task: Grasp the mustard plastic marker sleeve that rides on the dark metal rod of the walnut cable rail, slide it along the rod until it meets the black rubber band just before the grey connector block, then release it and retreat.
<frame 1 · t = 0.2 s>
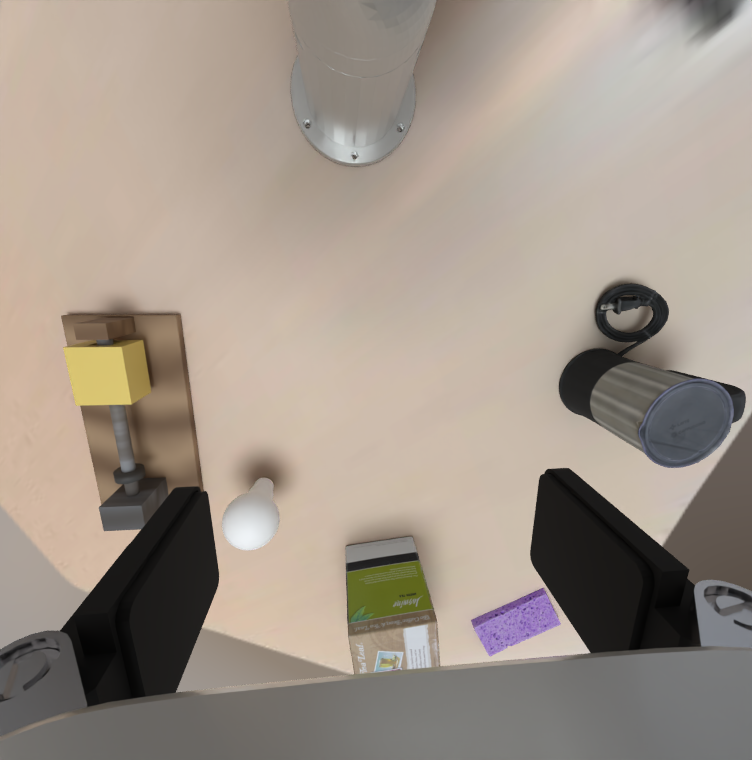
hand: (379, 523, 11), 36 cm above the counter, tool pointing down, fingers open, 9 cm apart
tea box: (383, 579, 56), on the counter
milk frother: (600, 352, 49), on the counter
sponges: (512, 615, 61), on the counter
cable rail: (142, 414, 46), on the counter
lightbulb: (265, 482, 50), on the counter
marker sleeve: (110, 371, 40), point 5 cm above the counter, slide at -6.5 cm
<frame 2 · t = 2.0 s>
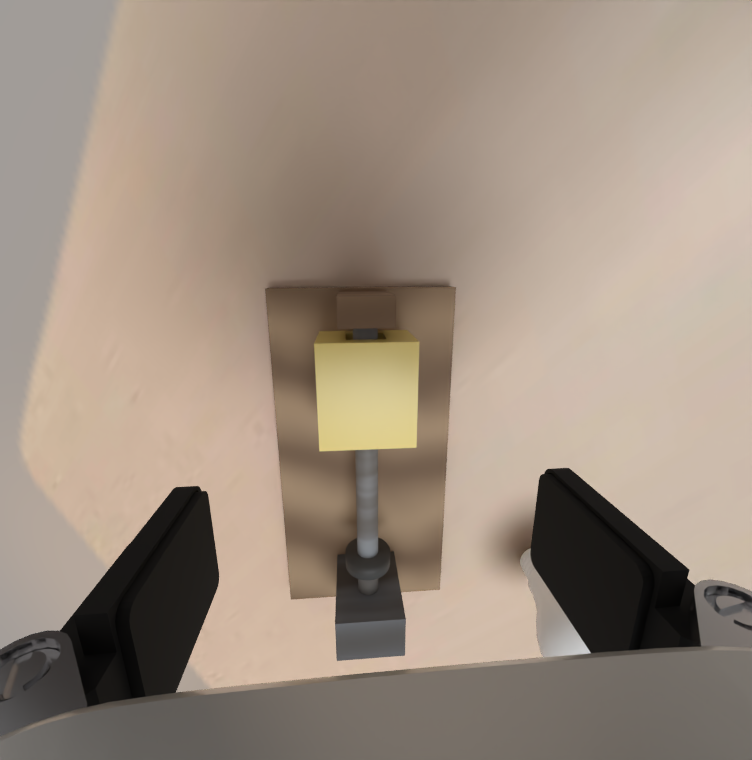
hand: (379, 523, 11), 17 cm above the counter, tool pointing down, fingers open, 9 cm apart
cable rail: (363, 452, 28), on the counter
lightbulb: (529, 551, 32), on the counter
marker sleeve: (365, 386, 22), point 4 cm above the counter, slide at -6.5 cm
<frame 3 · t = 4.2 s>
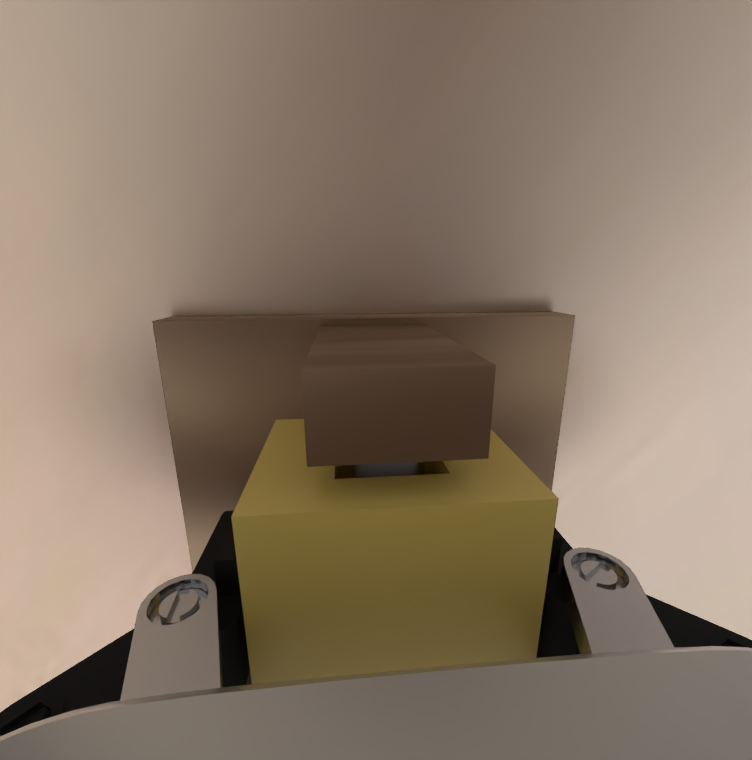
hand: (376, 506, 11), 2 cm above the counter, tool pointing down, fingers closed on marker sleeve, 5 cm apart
cable rail: (373, 618, 15), on the counter
marker sleeve: (386, 565, 9), point 5 cm above the counter, slide at -6.5 cm, touching gripper
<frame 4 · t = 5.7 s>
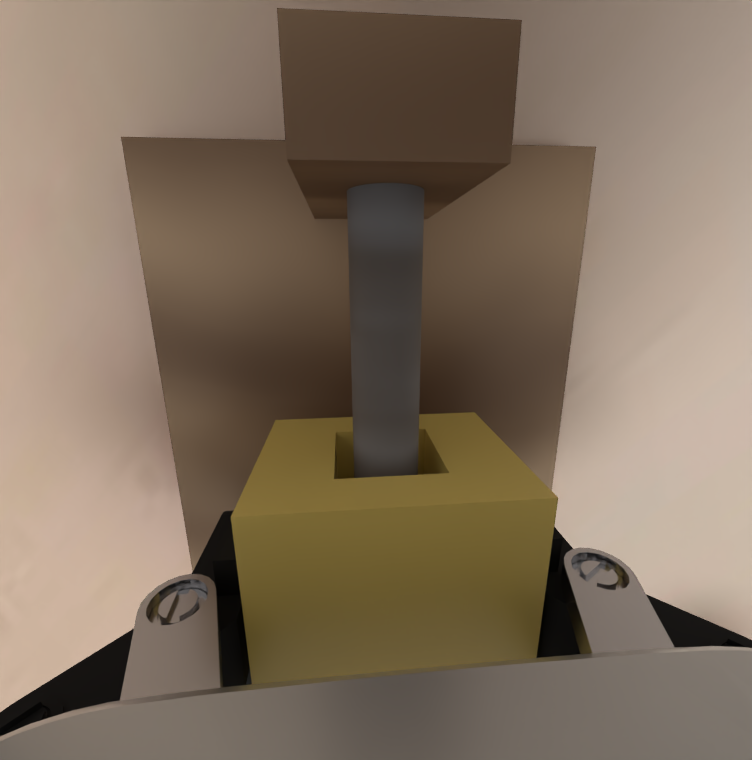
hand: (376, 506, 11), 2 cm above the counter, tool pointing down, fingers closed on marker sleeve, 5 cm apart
cable rail: (372, 522, 14), on the counter
marker sleeve: (386, 565, 9), point 5 cm above the counter, slide at -2.1 cm, touching gripper
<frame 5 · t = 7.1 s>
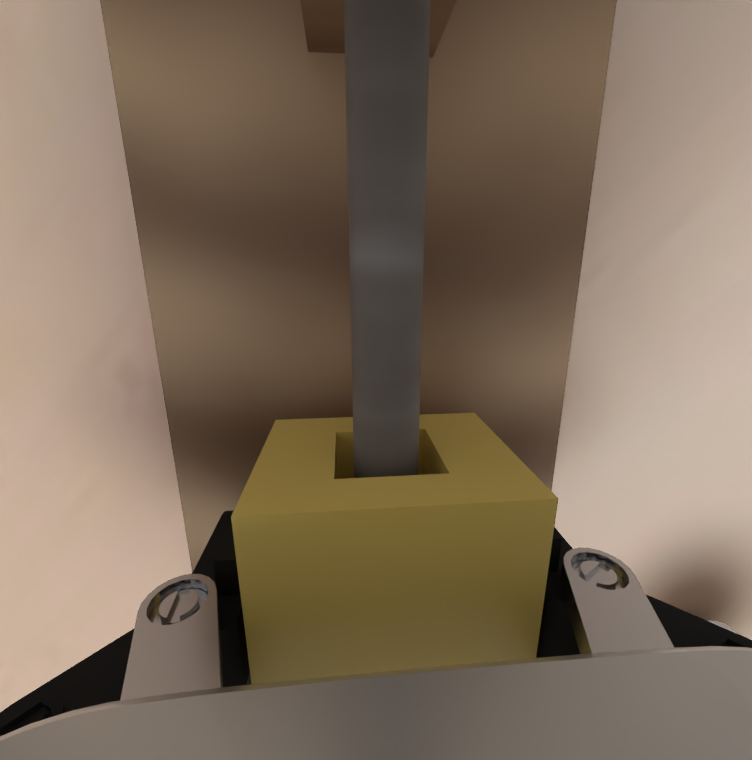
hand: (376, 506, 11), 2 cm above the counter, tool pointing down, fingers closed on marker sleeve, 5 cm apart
cable rail: (371, 430, 13), on the counter
marker sleeve: (385, 565, 9), point 4 cm above the counter, slide at 1.6 cm, touching gripper
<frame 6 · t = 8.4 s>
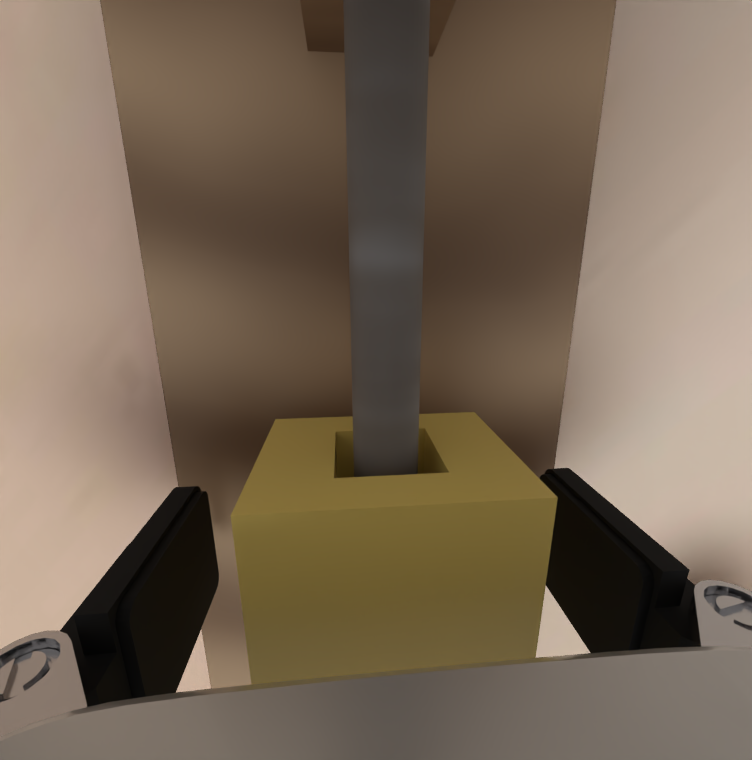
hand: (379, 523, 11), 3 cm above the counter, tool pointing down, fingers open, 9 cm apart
cable rail: (370, 429, 13), on the counter
marker sleeve: (385, 564, 9), point 5 cm above the counter, slide at 1.6 cm
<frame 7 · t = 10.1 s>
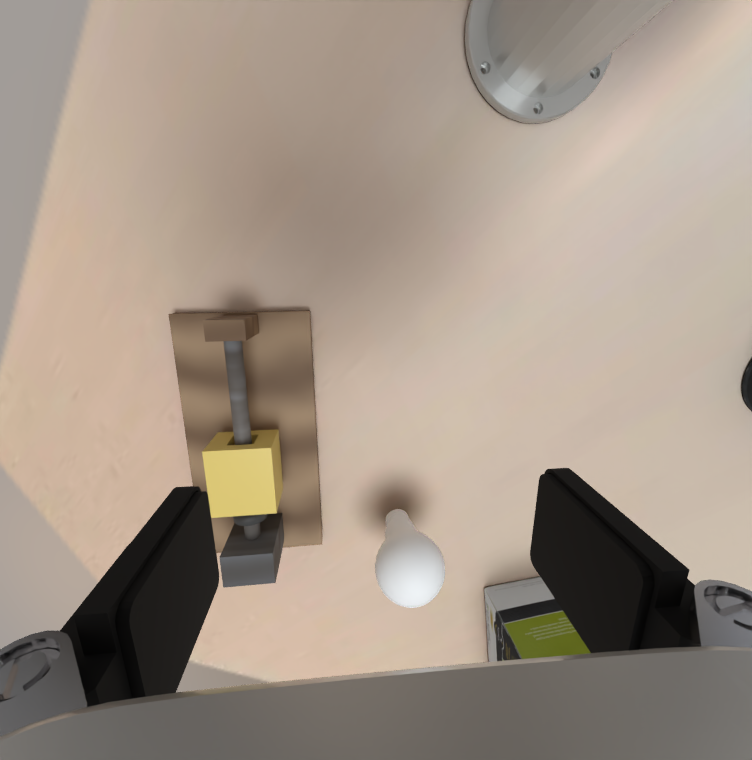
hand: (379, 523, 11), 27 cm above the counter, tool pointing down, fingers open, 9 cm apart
tea box: (523, 625, 47), on the counter
cable rail: (255, 435, 37), on the counter
lightbulb: (395, 513, 41), on the counter
marker sleeve: (246, 471, 33), point 5 cm above the counter, slide at 1.6 cm
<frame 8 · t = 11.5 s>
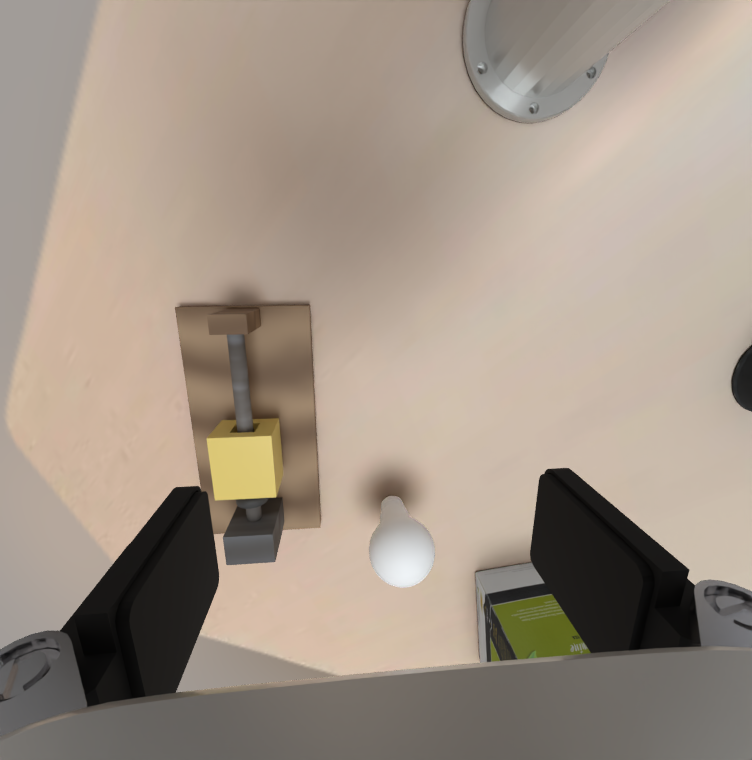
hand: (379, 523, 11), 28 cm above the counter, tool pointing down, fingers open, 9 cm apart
tea box: (512, 608, 49), on the counter
cable rail: (257, 423, 39), on the counter
lightbulb: (390, 500, 43), on the counter
marker sleeve: (248, 457, 35), point 5 cm above the counter, slide at 1.6 cm
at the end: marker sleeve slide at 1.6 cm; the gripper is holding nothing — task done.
